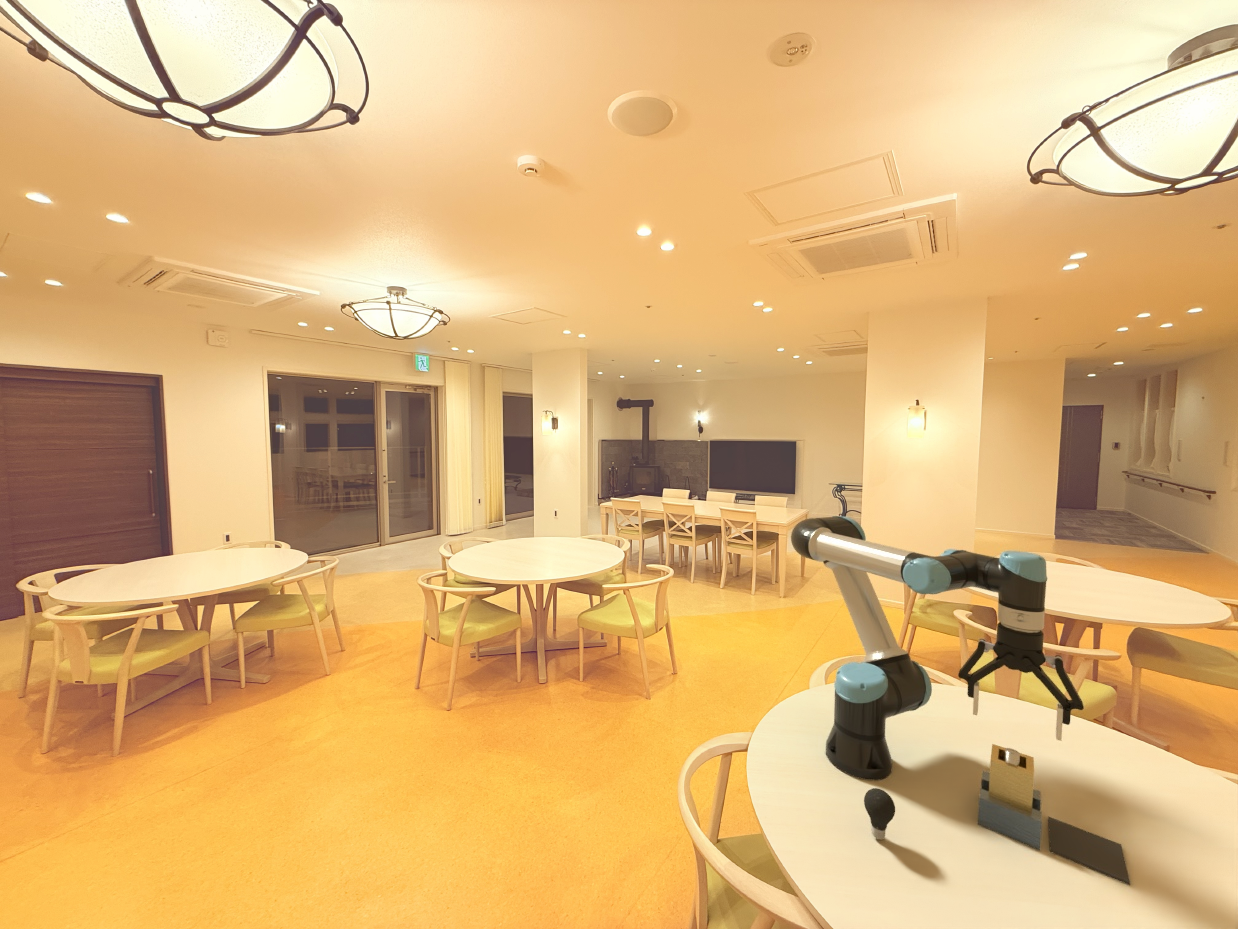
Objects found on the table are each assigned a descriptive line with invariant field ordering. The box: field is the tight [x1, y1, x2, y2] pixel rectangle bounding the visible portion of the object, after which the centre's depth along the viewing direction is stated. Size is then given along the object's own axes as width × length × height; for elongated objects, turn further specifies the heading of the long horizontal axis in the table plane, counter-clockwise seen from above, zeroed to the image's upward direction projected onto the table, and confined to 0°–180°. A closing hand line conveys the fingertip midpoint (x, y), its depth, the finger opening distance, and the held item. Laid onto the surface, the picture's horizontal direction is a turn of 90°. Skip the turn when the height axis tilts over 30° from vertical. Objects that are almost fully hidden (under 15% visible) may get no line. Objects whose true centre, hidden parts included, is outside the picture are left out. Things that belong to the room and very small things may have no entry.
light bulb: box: [863, 787, 896, 841], centre depth 98 cm, size 6×6×10 cm
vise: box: [977, 747, 1043, 852], centre depth 106 cm, size 10×18×16 cm, turn 140°
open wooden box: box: [989, 743, 1035, 812], centre depth 103 cm, size 7×7×8 cm
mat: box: [1047, 816, 1131, 886], centre depth 96 cm, size 11×11×1 cm
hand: (1015, 724), depth 102 cm, fingers open, 13 cm apart
